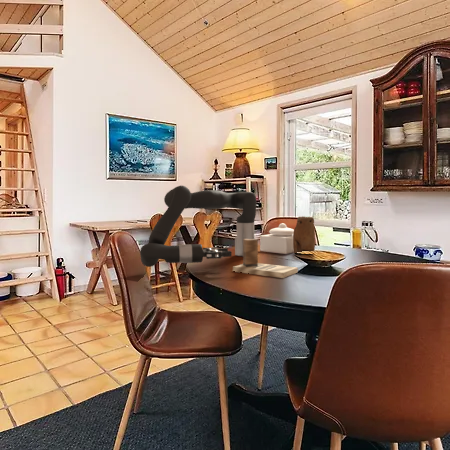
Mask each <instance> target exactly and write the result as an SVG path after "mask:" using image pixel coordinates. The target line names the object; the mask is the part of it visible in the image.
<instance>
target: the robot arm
mask: <svg viewBox="0 0 450 450" xmlns="http://www.w3.org/2000/svg"><path fill="white" fill-rule="evenodd" d="M256 197H257V196H256V194H255V193H254V192H252V191H237V192H225V191H222V190H217V189H205V190H200V191H195V192H192V191H191V190H190V189H189V187H187V186H185V185H178V186H175V187H174V188H172V189H170V190H169V191H167V192H166V194H165V196H164V198H163V199H164V204H165V205H166V207H168V208H167V209H166V210H165V212H164V213H163V214H162V215H161V217H160V218H159V220H157V221H156V223H155V225H154V227H153V229H152V231H151V232H150V235H149V236H148V242H147V243H146V244H144V245H142V246H141V248H140V249H139V253H140V255H139V256H140V261H141V263H142V264H143V266H145V267H146V268H148V267H151V268H152V267H154V266H156V264H157V263H158V262H159V260H163V261H165V262H166V263H167V264H168V263H169V264H175V263H176V264H178V263H180V264H181V263H182V264H195V263H197V264H198V263H202V262H203V258H206V259H207V260H209V259H210V260H211V259H222V258H227V257H229V258H231V257H232V251H231V250H228V248H227V247H223V248H221V247H215V246H214V247H213V246H212V247H203V245H202V244H201V243H196V244H195V243H194V244H193V243H192V244H191V243H190V244H182V245H181V244H179V245H167V244H166V242H167V240H168V238H169V236H170V234H171V231H172V230H173V228H174V227H175V224H176V223H177V221H178V219H179V218H180V216H181V215H182V213H183V212H184V210H186V209H200V210H201V209H202V210H222V209H224V208H231V209H237V210H242V213H241V214H240V215H239V216H237V217H236V236H235V237H234V255H235V256H237V257H243V239H255V219H256V216H257V198H256Z"/></svg>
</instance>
